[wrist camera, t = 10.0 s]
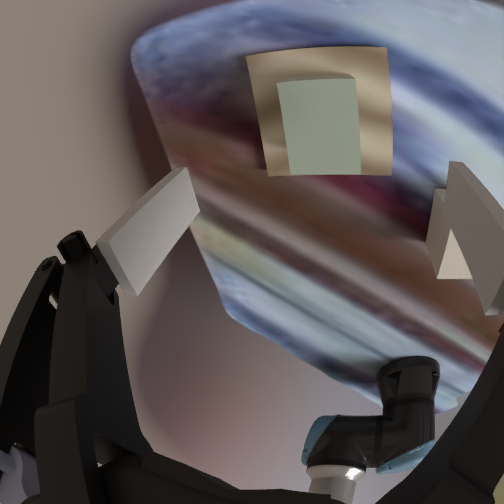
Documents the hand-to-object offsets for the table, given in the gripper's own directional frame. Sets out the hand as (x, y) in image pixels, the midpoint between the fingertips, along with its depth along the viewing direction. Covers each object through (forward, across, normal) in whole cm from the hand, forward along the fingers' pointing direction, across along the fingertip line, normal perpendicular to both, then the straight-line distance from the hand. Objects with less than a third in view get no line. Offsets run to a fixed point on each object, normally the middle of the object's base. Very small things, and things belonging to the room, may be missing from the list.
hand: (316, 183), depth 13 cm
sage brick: (+17, 0, 0) cm, 17 cm away
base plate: (+19, 0, 0) cm, 19 cm away
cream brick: (+19, -16, +13) cm, 28 cm away
